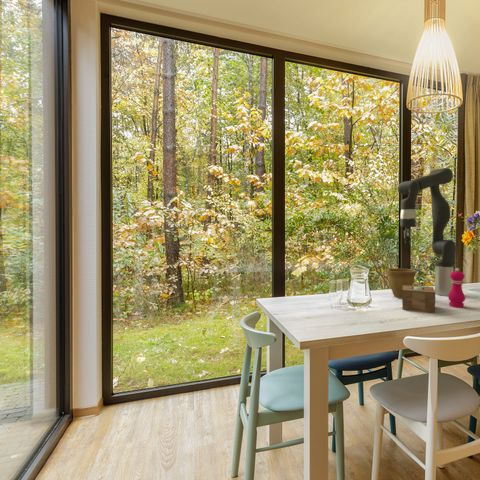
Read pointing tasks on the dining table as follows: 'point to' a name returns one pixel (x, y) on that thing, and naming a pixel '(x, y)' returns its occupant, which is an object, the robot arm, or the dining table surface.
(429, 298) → the socket block
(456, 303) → the pepper mill
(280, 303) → the dining table surface
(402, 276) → the plant pot
